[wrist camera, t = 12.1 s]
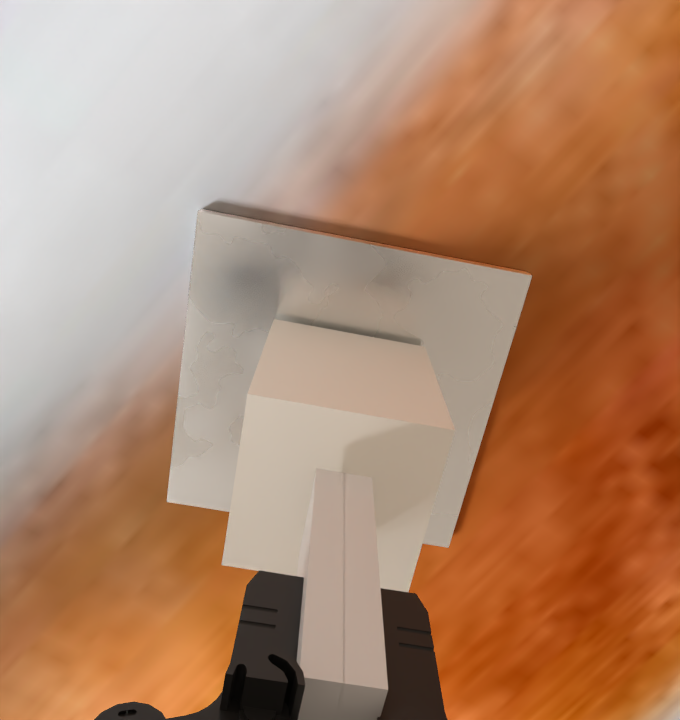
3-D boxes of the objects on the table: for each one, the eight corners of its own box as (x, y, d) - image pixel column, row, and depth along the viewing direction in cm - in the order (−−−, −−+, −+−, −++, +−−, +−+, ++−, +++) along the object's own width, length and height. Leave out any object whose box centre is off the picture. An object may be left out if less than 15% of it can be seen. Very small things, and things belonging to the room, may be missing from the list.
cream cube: (252, 452, 24) (221, 564, 18) (273, 318, 22) (247, 393, 16) (391, 476, 25) (407, 594, 19) (425, 346, 23) (455, 429, 17)
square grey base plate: (170, 493, 26) (113, 616, 20) (201, 208, 22) (141, 245, 16) (446, 538, 27) (479, 672, 20) (527, 271, 23) (601, 332, 16)
